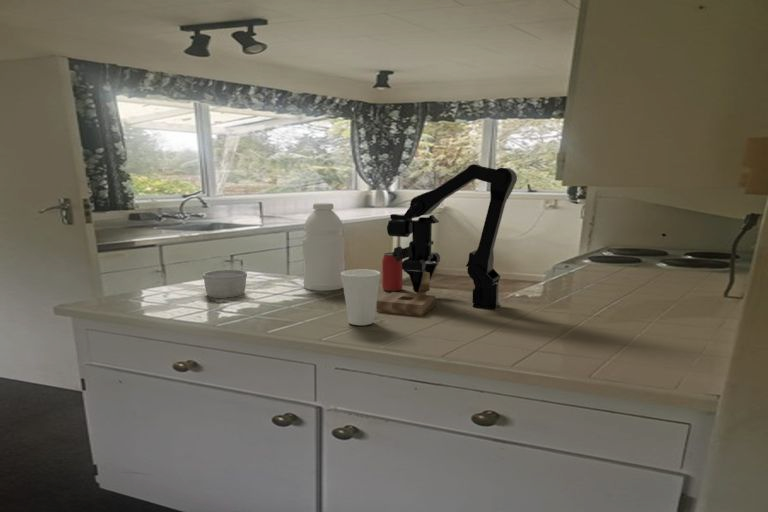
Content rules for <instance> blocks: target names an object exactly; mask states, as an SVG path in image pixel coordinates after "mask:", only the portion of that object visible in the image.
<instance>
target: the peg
mask: <svg viewBox="0 0 768 512" xmlns="http://www.w3.org/2000/svg"><path fill="white" fill-rule="evenodd" d="M430 283H431V280H430V273H429V272H425V274H424V277H423V280H422V283H421V286H420V289H419V291H418V292H416V294H419V295H427V292H429V291H430V289H431V288H430ZM412 290H413V292H414V289H413V288H412Z"/></svg>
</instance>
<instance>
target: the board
mask: <svg viewBox="0 0 768 512" xmlns="http://www.w3.org/2000/svg"><path fill="white" fill-rule="evenodd" d="M435 307H436V296H435V295H428V294H426V295H419V294H417V293H406V292H398V291H393V292H392V291H391V292H389V294H386V295H385V296H383V297H381V298H379V299H377V301H376V312H378V313H379V312H380V313H389V314H399V315H408V316H417V317H423V316H424V315H425V314H426V313H428V312H429V311H431V309H433V308H435Z"/></svg>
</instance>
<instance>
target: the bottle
mask: <svg viewBox="0 0 768 512" xmlns="http://www.w3.org/2000/svg"><path fill="white" fill-rule="evenodd" d="M312 204H313V205H312V209H313V211H312V212H311V214H309V216H308V217H307V218H306V221H305V223H304V224H303V225H304V226H303V231H305V233H306V234H305V236H304V237H303V238H302V252H303V253H302V254H303V260H302V261H303V288H304V289H306V290H309V291H316V292H320V291H321V292H325V291H326V292H327V291H338V290H341V289H344V288H343V282H342V279H341V272H343V271H346V270H345V269H346V267H345V265H346V263H345V259H346V258H345V257H346V256H345V243H346V239H345V237H344V236H343V235H342V231H344V230H345V229H344V225H343V222H342V221H341V219H340V217H339V216H338V215H337V214H336V212H335V211H333V209H334V204H333V203H330V202H329V203H328V202H320V203H319V202H318V203H312Z"/></svg>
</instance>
